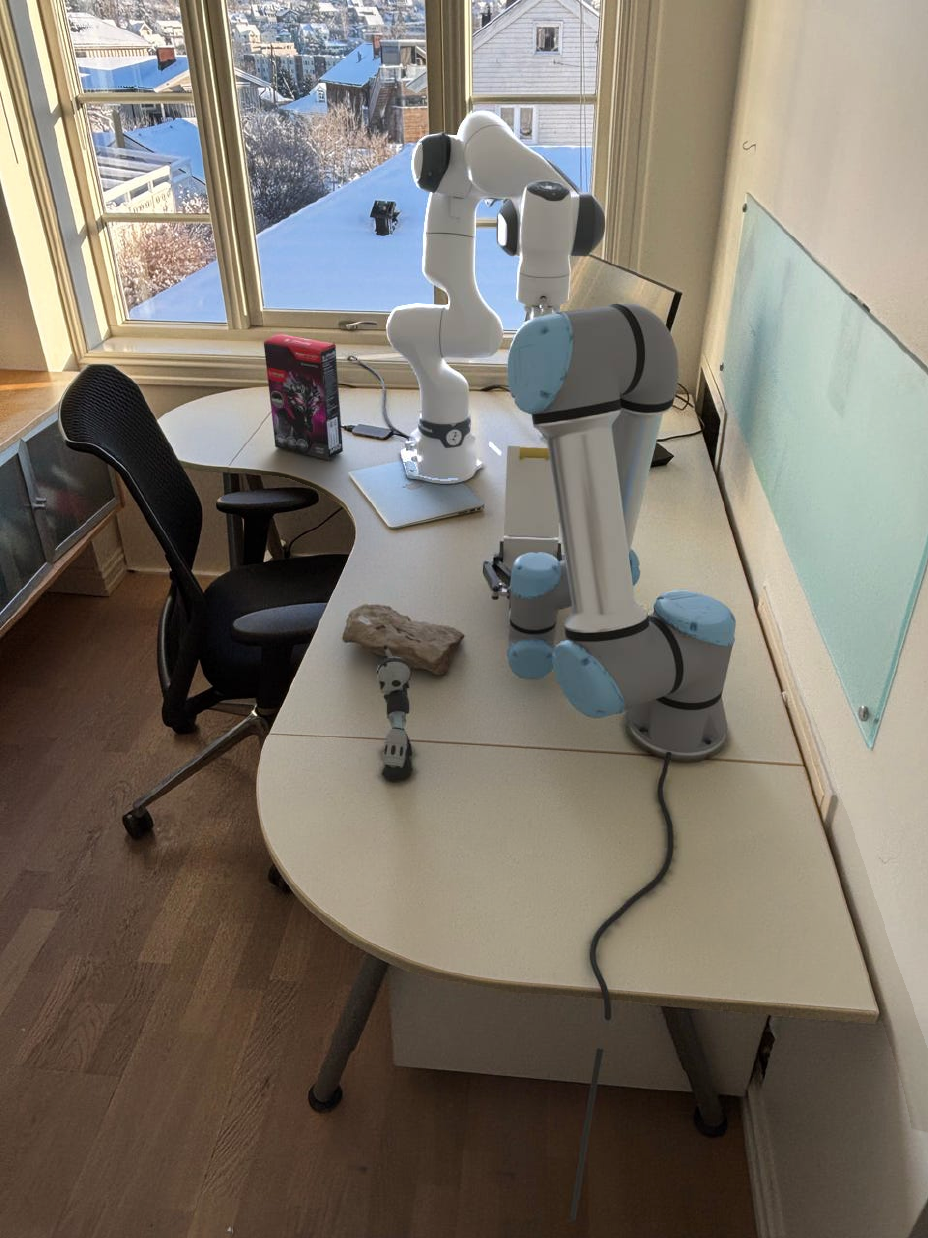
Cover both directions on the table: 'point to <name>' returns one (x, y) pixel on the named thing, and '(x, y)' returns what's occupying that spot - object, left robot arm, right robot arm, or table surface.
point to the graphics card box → (304, 395)
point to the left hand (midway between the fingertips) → (538, 369)
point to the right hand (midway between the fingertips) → (530, 548)
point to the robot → (396, 716)
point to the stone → (402, 637)
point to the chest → (526, 548)
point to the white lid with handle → (530, 493)
